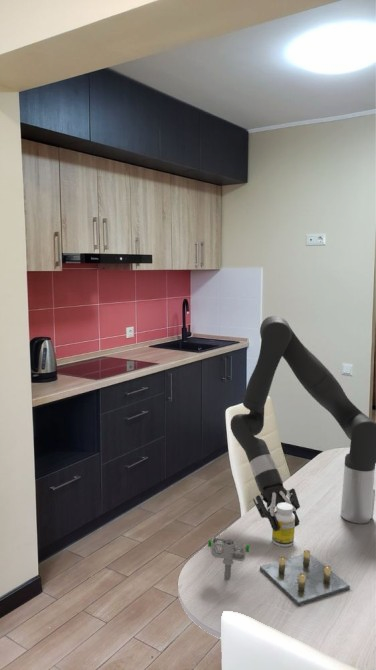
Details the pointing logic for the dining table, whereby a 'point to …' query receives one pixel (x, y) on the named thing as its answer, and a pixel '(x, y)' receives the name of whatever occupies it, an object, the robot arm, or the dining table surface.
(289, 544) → the pill bottle
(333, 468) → the dining table surface
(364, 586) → the dining table surface
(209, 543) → the mechanical component
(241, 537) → the dining table surface
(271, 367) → the robot arm
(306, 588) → the plate
